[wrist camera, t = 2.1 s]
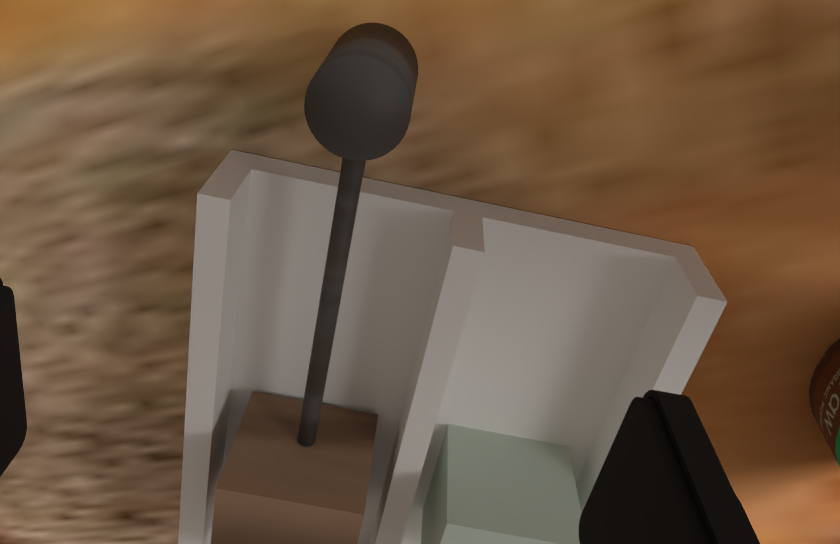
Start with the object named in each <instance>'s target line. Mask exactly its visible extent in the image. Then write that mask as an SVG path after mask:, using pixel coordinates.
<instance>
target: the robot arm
mask: <svg viewBox="0 0 840 544" xmlns="http://www.w3.org/2000/svg"><path fill="white" fill-rule="evenodd" d="M26 430H27V420H26V410H25V401H24V391H23V381H22V371H21V361H20V351H19V341H18V331H17V322H16V312H15V302H14V295H13V291H12V289H11V288H10V287H8V286H3V282H2V280H1V278H0V476H1V475H2V474H3V472H4V471H5V469H6V468H7V467H8V465H9V464H10V462H11V461H12V460H13V458H14V457H15V455H16V454H17V453H18V451H19V450H20V448H21V446H22V444H23V442H24V439H25V436H26ZM578 530H579V541H580V544H760V543H759V541H758V538H757V536H756V534H755V532H754V530H753V528H752V526H751V524H750V521H749V519H748V517H747V515H746V513H745V511H744V509H743V507H742V504H741V503H740V501H739V499H738V498H737V496H736V495H735V493H734V491H733V489H732V487H731V485H730V482H729V480H728V478H727V476H726V474H725V472H724V470H723V468H722V465H721V463H720V461H719V459H718V457H717V455H716V453H715V450H714V448H713V446H712V444H711V442H710V440H709V438H708V435H707V433H706V431H705V429H704V427H703V425H702V423H701V420H700V418H699V416H698V414H697V412H696V410H695V408H694V405H693V403H692V401H691V400H690V399H689V397H687V396H685V395H679V394H674V393H668V392H662V391H657V390H648V391H647V392H646V393H645V394H644V396H643V398H642V397H635V398H634V399H633V400H632V401H631V403H630V405H629V408H628V410H627V412H626V414H625V417H624V419H623V421H622V423H621V426H620V428H619V430H618V432H617V435H616V437H615V439H614V441H613V444H612V446H611V448H610V450H609V453H608V455H607V457H606V459H605V462H604V464H603V466H602V468H601V471H600V473H599V475H598V477H597V480H596V482H595V484H594V486H593V489H592V491H591V493H590V495H589V498H588V500H587V502H586V504H585V507H584V509H583V511H582V514H581V517H580V521H579V529H578Z"/></svg>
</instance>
